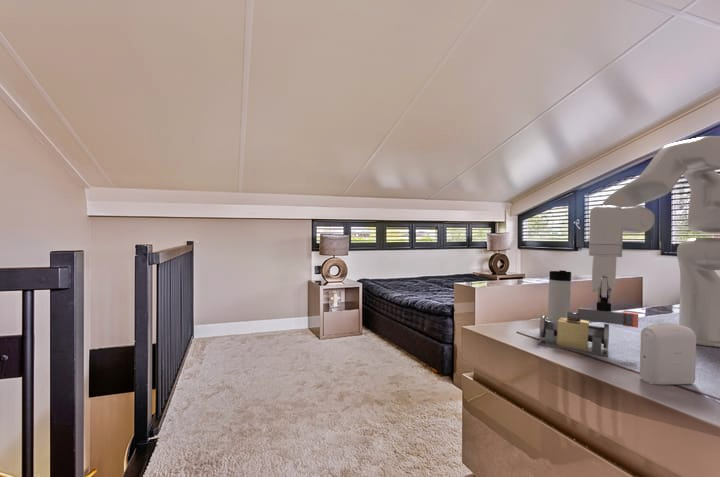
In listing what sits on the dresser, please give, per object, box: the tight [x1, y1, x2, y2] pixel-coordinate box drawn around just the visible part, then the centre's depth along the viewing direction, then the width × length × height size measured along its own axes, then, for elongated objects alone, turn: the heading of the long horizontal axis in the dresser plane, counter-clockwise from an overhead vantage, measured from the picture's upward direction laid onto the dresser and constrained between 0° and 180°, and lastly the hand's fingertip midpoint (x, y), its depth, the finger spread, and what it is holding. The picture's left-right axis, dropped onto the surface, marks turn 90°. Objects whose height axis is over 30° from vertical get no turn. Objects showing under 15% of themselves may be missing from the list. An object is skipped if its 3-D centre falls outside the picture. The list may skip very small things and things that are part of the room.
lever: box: [567, 307, 639, 329], centre depth 94 cm, size 16×3×4 cm, turn 59°
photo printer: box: [639, 322, 697, 385], centre depth 73 cm, size 10×4×12 cm, turn 96°
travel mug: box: [547, 269, 572, 321], centre depth 113 cm, size 6×7×20 cm
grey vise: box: [537, 314, 610, 358], centre depth 97 cm, size 16×10×7 cm, turn 55°
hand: (603, 317), depth 96 cm, fingers closed
